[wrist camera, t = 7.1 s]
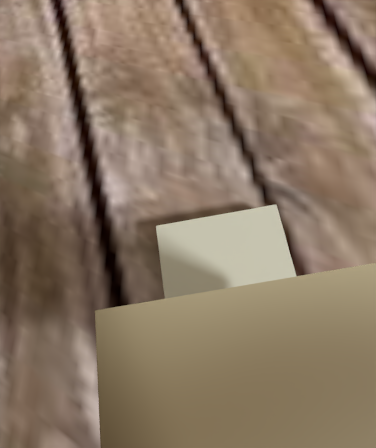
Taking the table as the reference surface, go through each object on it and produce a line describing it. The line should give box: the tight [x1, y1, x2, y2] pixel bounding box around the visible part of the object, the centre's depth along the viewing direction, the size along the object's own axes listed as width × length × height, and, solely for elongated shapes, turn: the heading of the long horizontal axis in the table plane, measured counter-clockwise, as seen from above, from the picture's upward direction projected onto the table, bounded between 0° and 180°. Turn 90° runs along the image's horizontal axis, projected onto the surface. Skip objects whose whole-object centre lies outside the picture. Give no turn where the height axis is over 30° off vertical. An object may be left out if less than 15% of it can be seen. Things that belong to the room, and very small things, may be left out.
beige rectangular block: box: [95, 263, 376, 448], centre depth 9 cm, size 6×6×12 cm
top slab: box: [156, 205, 296, 299], centre depth 20 cm, size 9×9×2 cm
